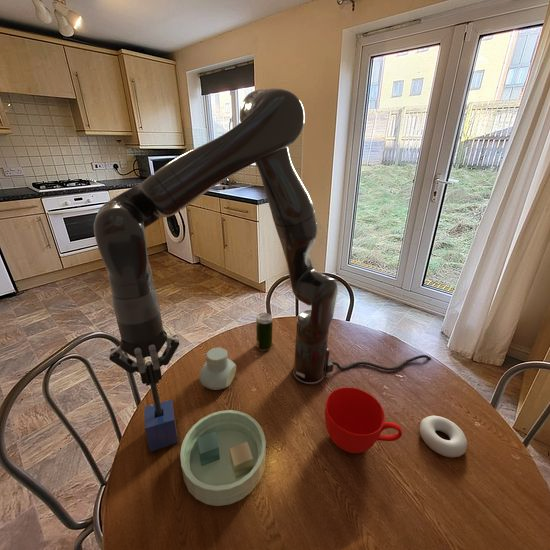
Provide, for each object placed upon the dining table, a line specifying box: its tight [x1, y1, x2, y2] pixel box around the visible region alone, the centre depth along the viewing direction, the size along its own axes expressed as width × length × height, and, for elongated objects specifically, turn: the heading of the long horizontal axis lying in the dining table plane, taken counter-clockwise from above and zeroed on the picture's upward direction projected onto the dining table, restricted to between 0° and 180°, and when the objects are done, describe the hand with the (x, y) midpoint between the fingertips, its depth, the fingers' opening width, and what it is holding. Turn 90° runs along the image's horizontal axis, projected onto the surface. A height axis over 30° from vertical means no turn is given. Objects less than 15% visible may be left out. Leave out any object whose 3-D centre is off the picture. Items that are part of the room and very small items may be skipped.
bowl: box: [179, 409, 267, 507], centre depth 63 cm, size 18×18×6 cm
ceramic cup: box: [324, 386, 403, 454], centre depth 67 cm, size 13×17×10 cm
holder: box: [143, 399, 179, 453], centre depth 67 cm, size 6×6×8 cm
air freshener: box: [198, 347, 237, 391], centre depth 83 cm, size 11×8×10 cm
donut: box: [419, 415, 468, 458], centre depth 69 cm, size 10×4×10 cm
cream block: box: [229, 442, 253, 478], centre depth 62 cm, size 4×4×4 cm
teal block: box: [197, 432, 220, 466], centre depth 64 cm, size 4×4×4 cm
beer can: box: [255, 312, 274, 352], centre depth 98 cm, size 5×5×12 cm
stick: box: [145, 360, 163, 417], centre depth 63 cm, size 1×1×18 cm
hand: (152, 381), depth 62 cm, fingers closed on stick, 1 cm apart
